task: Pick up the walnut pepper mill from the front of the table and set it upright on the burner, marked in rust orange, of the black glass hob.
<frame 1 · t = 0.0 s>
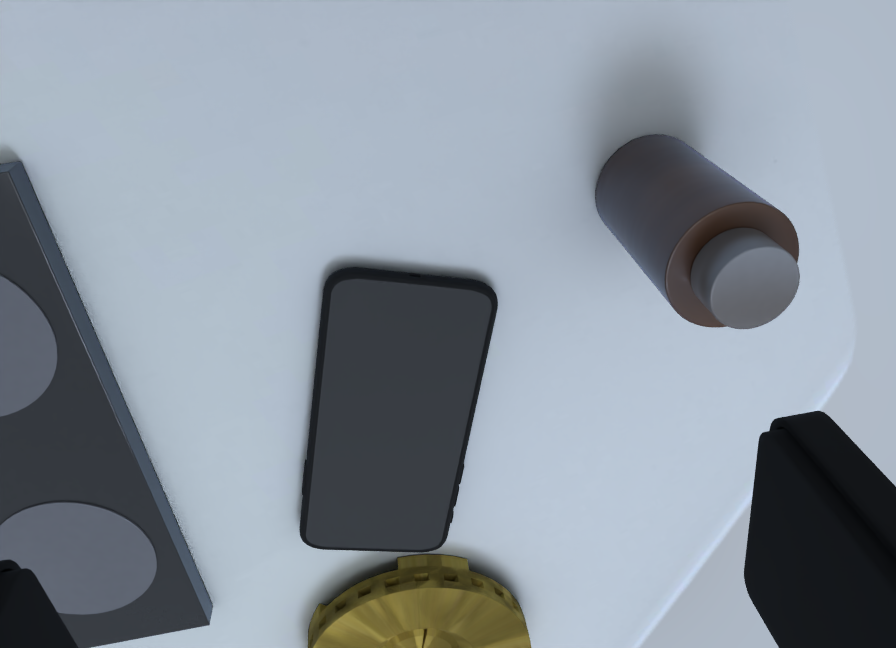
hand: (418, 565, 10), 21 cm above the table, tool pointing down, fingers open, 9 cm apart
smartphone: (391, 416, 34), on the table
gold round disc: (416, 628, 42), on the table
pepper mill: (648, 188, 30), on the table
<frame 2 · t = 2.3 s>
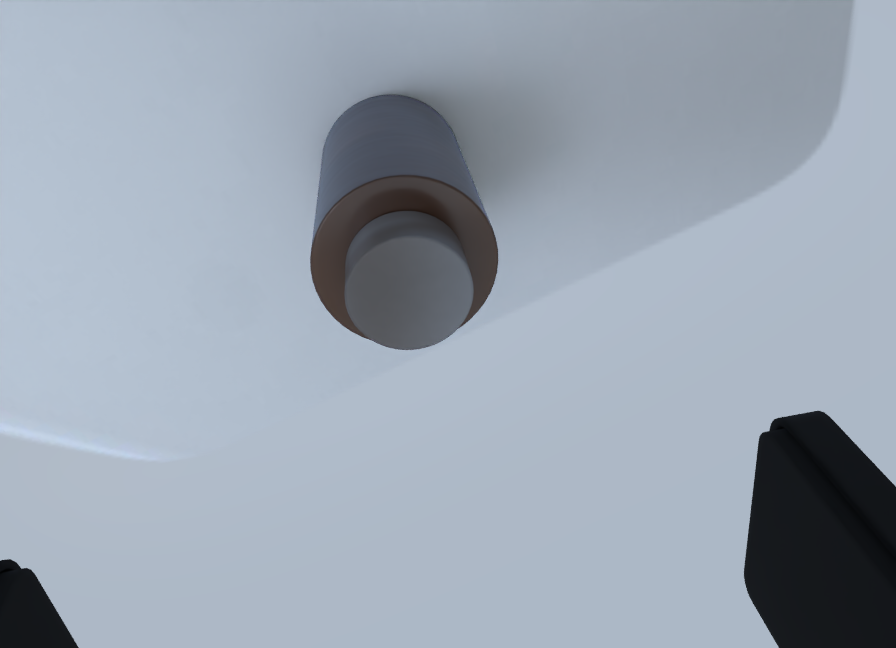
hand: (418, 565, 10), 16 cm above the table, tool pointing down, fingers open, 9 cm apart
pepper mill: (391, 164, 24), on the table
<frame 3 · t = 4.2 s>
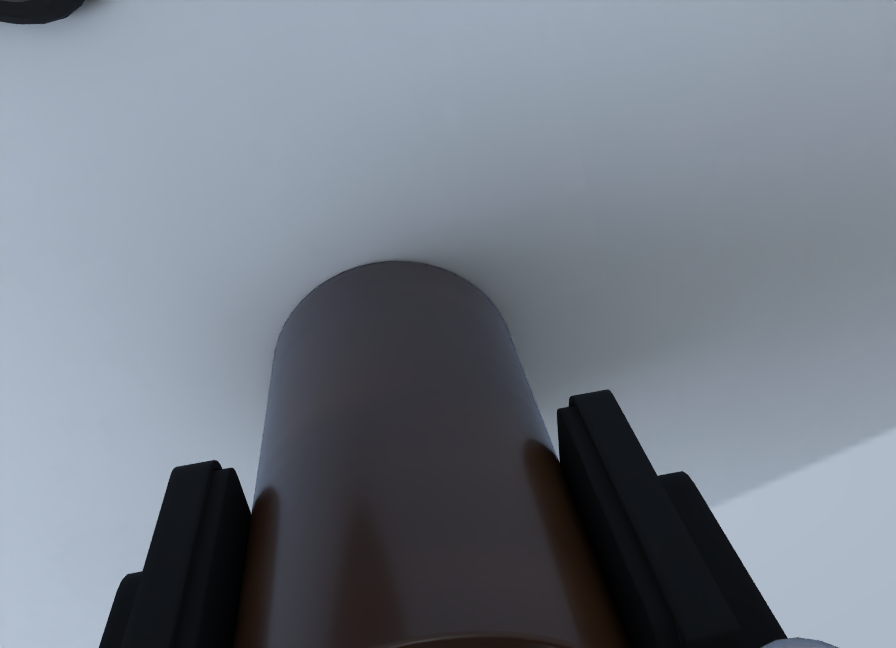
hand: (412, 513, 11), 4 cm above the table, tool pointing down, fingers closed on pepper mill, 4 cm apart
pepper mill: (395, 368, 14), on the table, touching gripper
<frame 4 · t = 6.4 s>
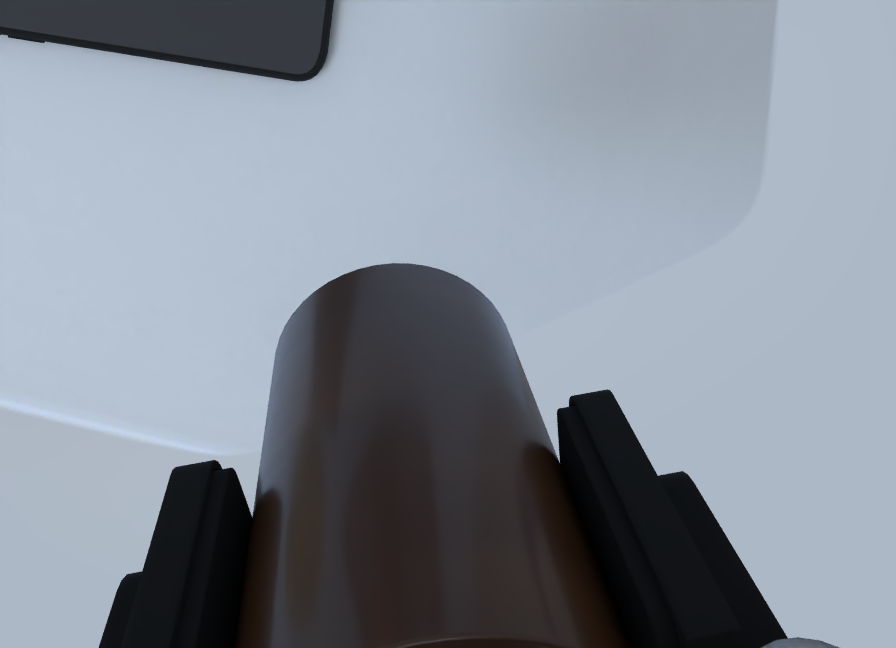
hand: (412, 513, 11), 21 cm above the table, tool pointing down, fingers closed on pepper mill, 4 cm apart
pepper mill: (395, 369, 14), point 17 cm above the table, touching gripper
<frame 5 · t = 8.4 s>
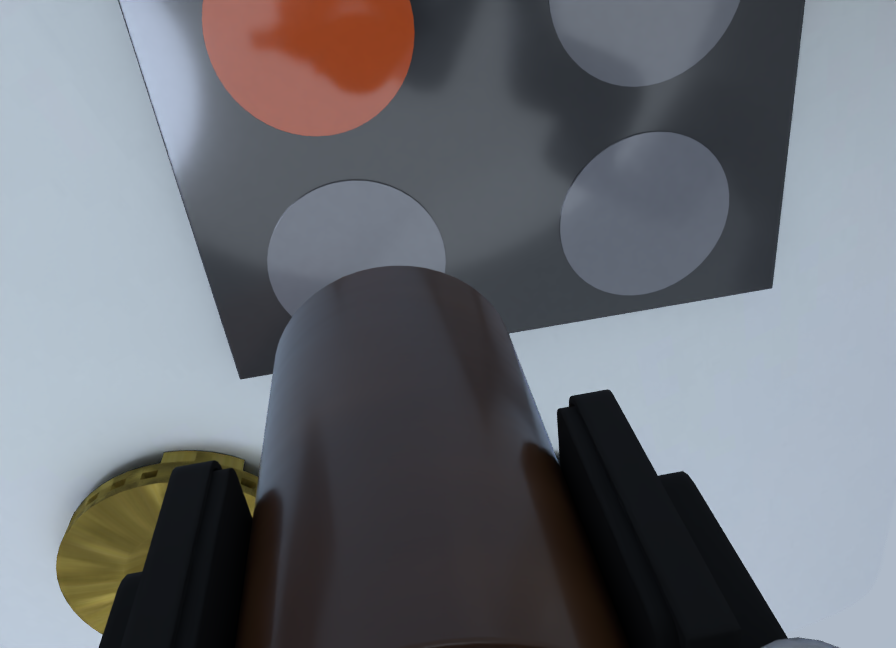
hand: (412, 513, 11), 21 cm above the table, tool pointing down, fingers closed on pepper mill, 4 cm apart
gold round disc: (197, 539, 38), on the table
pepper mill: (395, 371, 14), point 17 cm above the table, touching gripper
hob: (487, 124, 29), on the table
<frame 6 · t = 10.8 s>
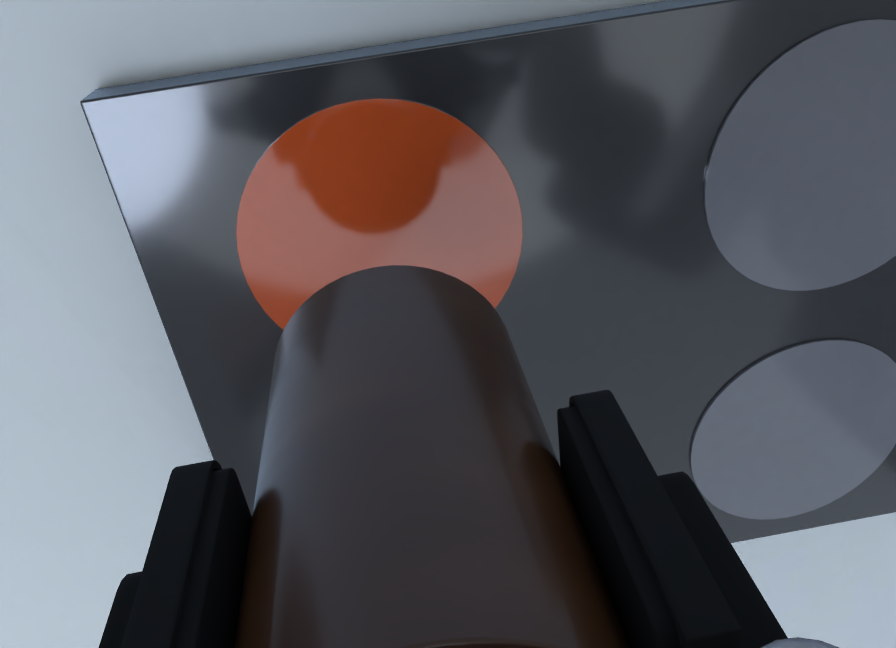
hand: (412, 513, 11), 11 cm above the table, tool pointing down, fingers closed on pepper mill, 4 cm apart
pepper mill: (395, 371, 14), point 7 cm above the table, touching gripper
hob: (602, 329, 22), on the table
when the fingers open (5 cm above the table, at t = 12.6 s): pepper mill stays where it is, resting on hob.
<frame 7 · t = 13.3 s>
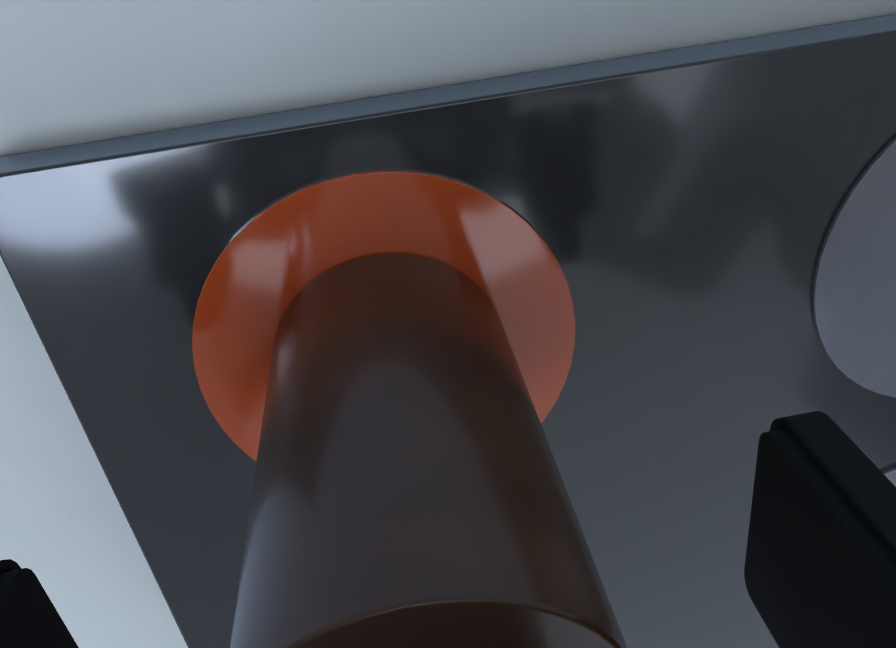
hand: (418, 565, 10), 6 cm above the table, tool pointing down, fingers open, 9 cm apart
pepper mill: (391, 358, 14), point 1 cm above the table, touching hob
hob: (665, 439, 18), on the table
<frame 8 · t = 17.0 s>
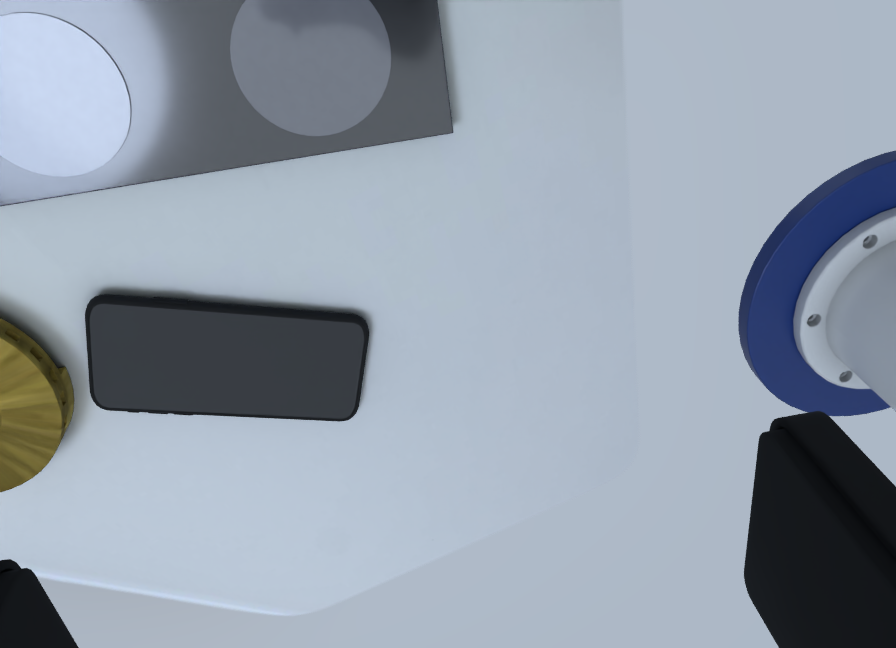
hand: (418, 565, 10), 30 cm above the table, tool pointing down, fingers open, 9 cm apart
smartphone: (232, 355, 42), on the table
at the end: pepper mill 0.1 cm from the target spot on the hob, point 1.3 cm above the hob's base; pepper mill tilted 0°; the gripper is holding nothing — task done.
